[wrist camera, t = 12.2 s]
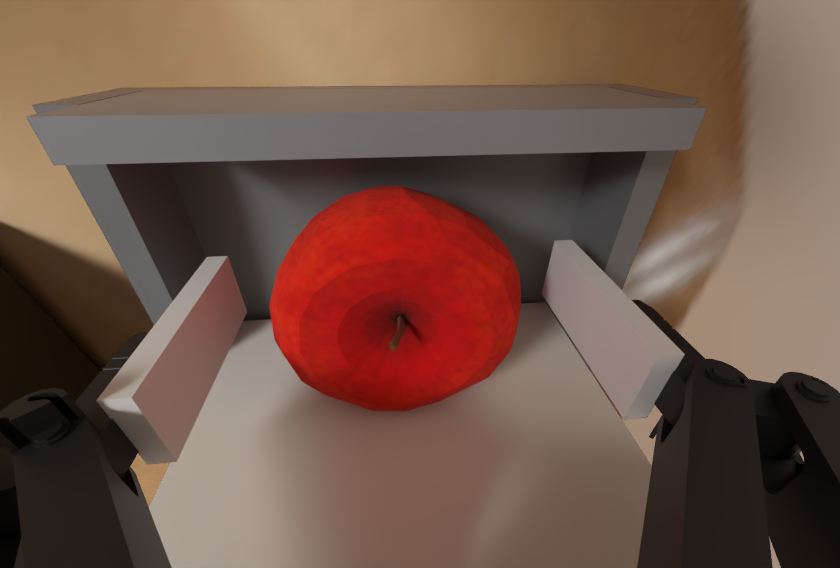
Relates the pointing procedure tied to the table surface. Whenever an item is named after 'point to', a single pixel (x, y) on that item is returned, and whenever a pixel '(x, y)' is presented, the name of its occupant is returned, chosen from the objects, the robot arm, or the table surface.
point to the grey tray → (361, 169)
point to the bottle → (36, 349)
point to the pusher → (407, 469)
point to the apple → (395, 300)
